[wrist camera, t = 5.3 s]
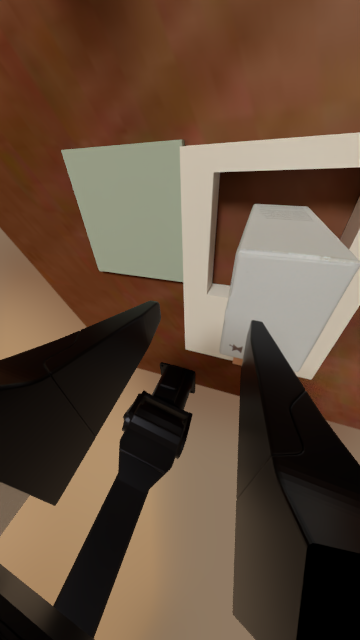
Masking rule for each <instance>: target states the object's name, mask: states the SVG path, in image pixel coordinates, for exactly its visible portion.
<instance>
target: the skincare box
mask: <svg viewBox="0 0 360 640" xmlns="http://www.w3.org/2000/svg"><path fill="white" fill-rule="evenodd" d="M359 268H360V261H359V260H358V259H357V258H356V257H355V256H354V254H353V253H352V252H351V251H350V250H349V249H348V248H347V247H346V246H345V245H344V244H343V243H342V242H341V241H340V240H339V239H338V238H337V237H336V236H335V235H334V234H333V232H332V231H331V230H330V229H329V228H328V227H327V226H326V225H325V224H324V223H323V222H322V221H321V220H320V219H319V218H318V217H317V216H316V215H315V214H314V213H313V212H312V210H311V209H310V208H309V207H307V206H287V205H269V204H254V205H253V207H252V210H251V213H250V216H249V219H248V221H247V224H246V227H245V229H244V232H243V235H242V238H241V241H240V244H239V247H238V249H237V252H236V257H235V263H234V268H233V274H232V280H231V286H230V291H229V297H228V302H227V306H226V310H225V316H224V323H223V329H222V336H221V342H220V349H219V352H220V354H223V355H227V356H231V357H235V358H240V359H243V356H244V350H245V344H246V339H247V334H248V331H249V327H250V323H251V321H252V320H256V321H261V322H263V324H264V325H265V327H266V328H267V330H268V331H269V333H270V335H271V336H272V338H273V339H274V341H275V342H276V344H277V346H278V347H279V349H280V350H281V352H282V353H283V355H284V357H285V358H286V360H287V361H288V363H289V365H290V366H291V368H292V369H293V371H294V372H298V371H300V369H301V367H302V365H303V364H304V362H305V360H306V359H307V357H308V355H309V354H310V352H311V350H312V349H313V347H314V345H315V343H316V342H317V340H318V338H319V336H320V335H321V333H322V331H323V329H324V328H325V326H326V324H327V322H328V320H329V319H330V317H331V315H332V313H333V312H334V310H335V308H336V306H337V305H338V303H339V301H340V299H341V298H342V296H343V294H344V293H345V291H346V289H347V287H348V286H349V284H350V282H351V281H352V279H353V277H354V275H355V274H356V272H357V271H358V269H359Z"/></svg>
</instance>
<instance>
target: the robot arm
mask: <svg viewBox="0 0 360 640" xmlns="http://www.w3.org/2000/svg"><path fill="white" fill-rule="evenodd" d="M160 319H161V313H160V305H159V303H158V302H155V301H148V302H146V303H144V304H141V305H139V306H136V307H134V308H132V309H129V310H127V311H125V312H122V313H120V314H118V315H115V316H113V317H110V318H108V319H106V320H103V321H101V322H99V323H96V324H94V325H92V326H89V327H87V328H85V329H82V330H81V331H78V332H75V333H73V334H70V335H68V336H65V337H63V338H60V339H58V340H55V341H53V342H50V343H47V344H44V345H42V346H39V347H36V348H33V349H31V350H28V351H25V352H22V353H19V354H17V355H14V356H11V357H8V358H5V359H2V360H0V536H1V534H2V533H3V531H4V530H5V528H6V527H7V526H8V525H9V523H10V521H11V520H12V519H13V518H14V516H15V515H16V513H17V512H18V510H19V509H20V508H21V507H22V505H23V504H24V502H25V501H26V500H27V498H28V497H29V496H30V495H31V496H34V497H36V498H38V499H40V500H43V501H45V502H47V503H50V504H52V505H54V506H55V505H56V504H57V502H58V501H59V499H60V497H61V496H62V494H63V492H64V491H65V489H66V487H67V486H68V484H69V482H70V480H71V478H72V477H73V475H74V473H75V472H76V470H77V468H78V467H79V465H80V463H81V461H82V460H83V458H84V456H85V455H86V453H87V451H88V450H89V448H90V446H91V445H92V443H93V441H94V440H95V437H96V436H97V434H98V432H99V431H100V429H101V427H102V426H103V423H104V422H105V421H106V419H107V417H108V415H109V414H110V412H111V410H112V409H113V407H114V405H115V403H116V402H117V400H118V398H119V397H120V395H121V393H122V392H123V390H124V388H125V387H126V385H127V383H128V381H129V380H130V378H131V376H132V374H133V373H134V371H135V369H136V368H137V366H138V364H139V363H140V361H141V359H142V358H143V356H144V354H145V352H146V351H147V349H148V347H149V345H150V343H151V341H152V338H153V336H154V334H155V331H156V329H157V327H158V325H159V322H160ZM160 369H161V375H162V376H161V378H160V380H159V382H158V384H157V386H156V388H155V390H154V392H153V394H152V395H151V394H148V393H147V392H146V391H143V392H142V394H138V396H137V398H136V399H135V401H134V403H133V404H132V405H131V407H130V408H129V409H128V410H127V412H126V413H125V414H124V416H123V418H124V424H123V428H122V431H124V434H123V436H122V437H121V440H120V448H119V472H118V475H117V476H116V479H115V481H114V483H113V485H112V487H111V489H110V491H109V493H108V495H107V497H106V499H105V501H104V503H103V505H102V507H101V510H100V511H99V513H98V515H97V518H96V520H95V522H94V524H93V526H92V528H91V530H90V532H89V534H88V536H87V538H86V540H85V542H84V544H83V546H82V548H81V550H80V552H79V554H78V557H77V558H76V561H75V563H74V565H73V567H72V569H71V571H70V573H69V575H68V577H67V579H66V581H65V583H64V585H63V587H62V589H61V591H60V594H59V595H58V597H57V600H56V602H55V604H54V606H52V605H51V604H49V603H48V602H47V601H46V600H44V599H43V598H42V597H41V596H39V595H38V594H37V593H36V592H34V591H33V590H32V589H31V588H29V587H28V586H27V585H26V584H24V583H23V582H22V581H21V580H19V579H18V578H17V577H16V576H15V575H13V574H12V573H11V572H9V571H8V570H7V569H6V568H5V567H3V566H2V565H1V564H0V640H94V636H95V633H96V631H97V628H98V625H99V622H100V620H101V617H102V615H103V612H104V609H105V606H106V604H107V601H108V598H109V596H110V593H111V590H112V587H113V585H114V582H115V579H116V577H117V574H118V571H119V569H120V566H121V563H122V561H123V558H124V555H125V553H126V550H127V548H128V545H129V542H130V540H131V537H132V534H133V531H134V528H135V526H136V523H137V521H138V518H139V515H140V512H141V510H142V507H143V505H144V502H145V499H146V497H147V494H148V491H149V489H150V488H151V487H152V486H153V485H154V484H155V483H156V482H157V481H158V480H159V479H160V478H161V477H162V476H163V475H165V473H166V472H168V470H170V468H171V467H172V464H173V462H174V459H175V458H177V459H178V458H179V457H180V455H181V453H182V450H183V447H184V444H185V441H186V438H187V434H188V430H189V426H190V422H191V418H192V413H188V412H186V411H184V407H185V404H186V401H187V398H188V395H189V393H195V372H194V371H192V370H188V369H185V368H181V367H177V366H174V365H170V364H166V363H163V362H161V363H160ZM233 590H234V591H233V615H234V616H235V617H236V618H237V620H239V622H240V623H241V624H242V625H243V626H244V627H245V628H246V630H247V631H248V632H249V633H250V634H251V635H252V636H253V637H254V639H255V640H360V465H359V464H358V462H357V461H356V460H355V459H354V457H353V456H352V455H351V453H350V452H349V451H348V449H347V448H346V447H345V445H344V444H343V443H342V442H341V440H340V439H339V438H338V436H337V435H336V433H335V432H334V431H333V429H332V428H331V427H330V425H329V424H328V423H327V421H326V420H325V419H324V417H323V416H322V414H321V413H320V411H319V410H318V408H317V407H316V405H315V404H314V402H313V401H312V399H311V397H310V396H309V394H308V393H307V392H306V391H305V388H304V387H303V385H302V383H301V382H300V380H299V379H298V377H297V376H296V374H295V372H294V371H293V369H292V368H291V366H290V365H289V363H288V361H287V360H286V358H285V357H284V355H283V353H282V352H281V350H280V349H279V347H278V346H277V344H276V342H275V341H274V339H273V338H272V336H271V335H270V333H269V331H268V330H267V328H266V327H265V325H264V324H263V322H261V321H256V320H252V321H251V323H250V327H249V331H248V334H247V339H246V344H245V350H244V356H243V362H242V368H241V381H240V411H239V442H238V470H237V501H236V529H235V559H234V589H233Z"/></svg>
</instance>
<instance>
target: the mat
mask: <svg viewBox="0 0 360 640" xmlns="http://www.w3.org/2000/svg"><path fill="white" fill-rule="evenodd" d="M180 146H184V140H171V141H160V142H148V143H137V144H125V145H114V146H103V147H91V148H80V149H69V150H61V152H62V155H63V158H64V161H65V164H66V167H67V171H68V174H69V177H70V180H71V183H72V187H73V190H74V193H75V196H76V199H77V202H78V206H79V209H80V212H81V215H82V218H83V221H84V225H85V228H86V231H87V234H88V237H89V240H90V244H91V247H92V250H93V253H94V256H95V259H96V263H97V266H98V269H99V271H105V272H113V273H120V274H127V275H135V276H142V277H149V278H156V279H164V280H171V281H178V282H183V249H182V214H181V179H180Z"/></svg>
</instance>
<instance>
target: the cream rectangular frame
mask: <svg viewBox="0 0 360 640" xmlns="http://www.w3.org/2000/svg"><path fill="white" fill-rule="evenodd" d="M354 167H360V133H348V134H335V135H322V136H309V137H296V138H283V139H270V140H257V141H244V142H232V143H219V144H206V145H193V146H180V179H181V214H182V249H183V284H184V319H185V349H186V350H190V351H194V352H198V353H202V354H207V355H211V356H215V357H219V358H223V359H227V360H231V361H233V364H237V365H241V366H242V362H243V359H240V358H235V357H231V356H227V355H223V354H220V352H219V349H220V342H221V336H222V329H223V323H224V316H225V310H226V306H227V302H228V297H229V291H230V286H228V285H220V284H212V278H213V264H214V251H215V237H216V223H217V210H218V196H219V182H220V172H238V171H267V170H296V169H325V168H354ZM340 241H341V242H342V243H343V244H344V245H345V246H346V247H347V248H348V249H349V250H350V251H351V252H352V253H353V254H354V256H355V257H356V258H357V259H358V260H359V261H360V197H359V199H358V201H357V203H356V206H355V208H354V210H353V212H352V214H351V216H350V219H349V221H348V223H347V225H346V227H345V230H344V232H343V234H342V236H341V238H340ZM359 306H360V268H359V269H358V271H357V272H356V274H355V275H354V277H353V279H352V281H351V282H350V284H349V286H348V287H347V289H346V291H345V293H344V294H343V296H342V298H341V299H340V301H339V303H338V305H337V306H336V308H335V310H334V312H333V313H332V315H331V317H330V319H329V320H328V322H327V324H326V326H325V328H324V329H323V331H322V333H321V335H320V336H319V338H318V340H317V342H316V343H315V345H314V347H313V349H312V350H311V352H310V354H309V355H308V357H307V359H306V360H305V362H304V364H303V365H302V367H301V369H300V371H298V372H295V374H296V376H298V377H302V378H306V379H310V380H311V379H312V378H313V376H314V375H315V373H316V372H317V370H318V369H319V367H320V366H321V364H322V363H323V361H324V359H325V358H326V356H327V355H328V353H329V352H330V350H331V349H332V347H333V346H334V344H335V343H336V341H337V339H338V338H339V336H340V335H341V333H342V332H343V330H344V329H345V327H346V326H347V324H348V322H349V321H350V319H351V318H352V316H353V315H354V313H355V312H356V310H357V309H358V307H359Z"/></svg>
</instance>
